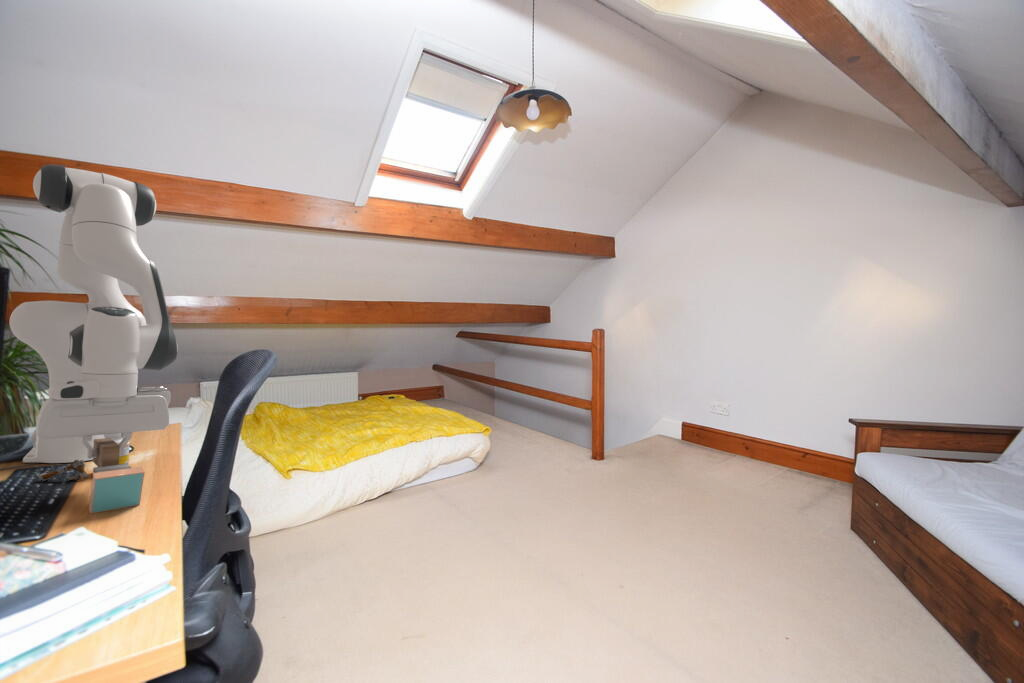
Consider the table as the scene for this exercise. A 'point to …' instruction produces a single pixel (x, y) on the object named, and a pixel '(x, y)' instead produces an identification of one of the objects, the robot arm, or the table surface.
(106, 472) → the tile
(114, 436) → the supplement bottle
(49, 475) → the wooden post with brackets
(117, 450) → the brown bar with plate
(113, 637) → the table surface
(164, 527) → the table surface
